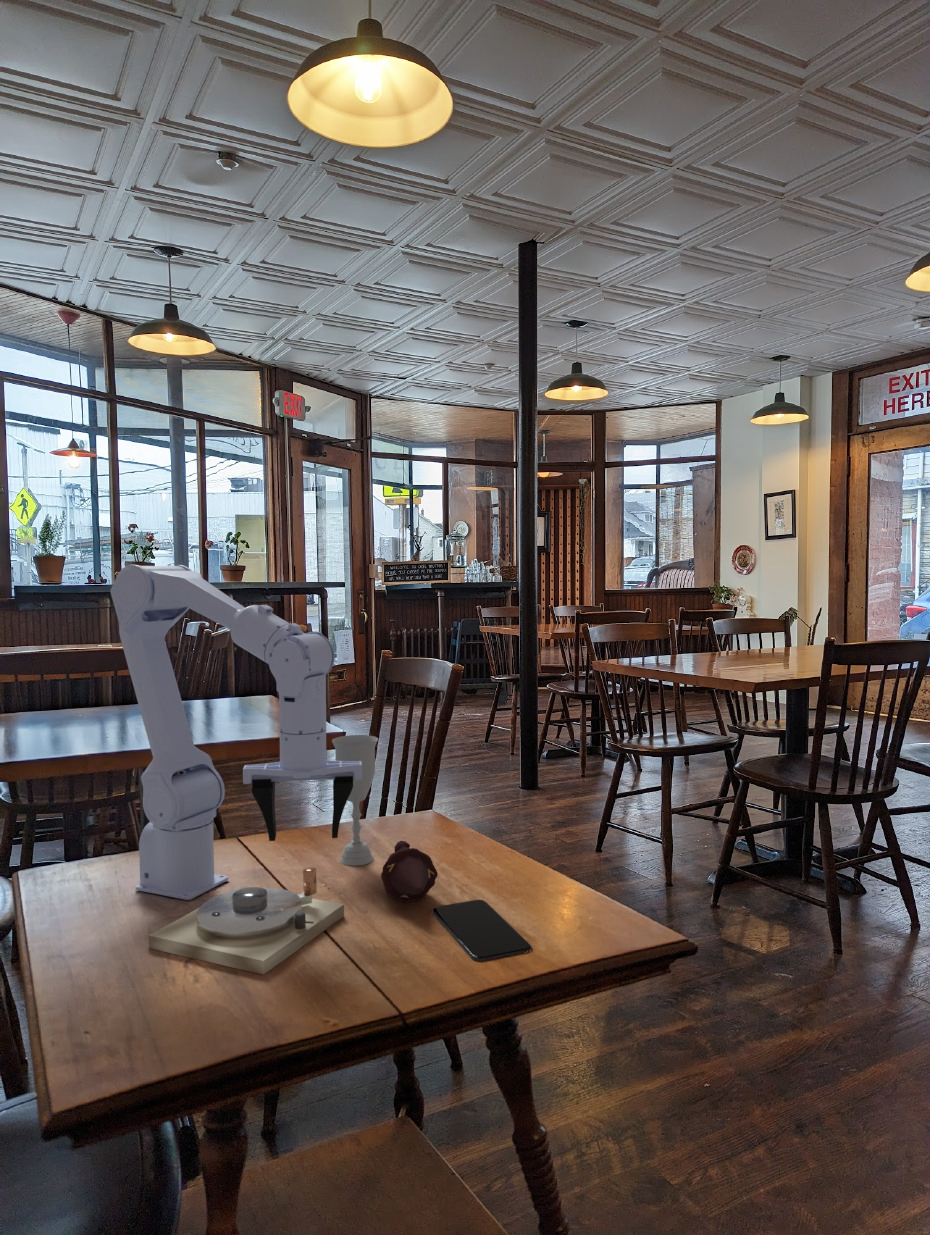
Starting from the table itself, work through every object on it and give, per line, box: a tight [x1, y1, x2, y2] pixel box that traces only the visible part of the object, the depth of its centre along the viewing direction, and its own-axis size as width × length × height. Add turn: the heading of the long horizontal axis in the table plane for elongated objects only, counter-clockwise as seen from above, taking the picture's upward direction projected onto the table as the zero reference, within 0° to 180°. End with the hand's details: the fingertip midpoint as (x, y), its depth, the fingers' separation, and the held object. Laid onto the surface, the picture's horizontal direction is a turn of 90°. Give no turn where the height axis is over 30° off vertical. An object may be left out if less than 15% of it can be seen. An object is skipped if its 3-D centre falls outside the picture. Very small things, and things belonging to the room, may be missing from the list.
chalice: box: [331, 734, 379, 867], centre depth 121 cm, size 7×7×18 cm
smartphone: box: [431, 899, 533, 963], centre depth 97 cm, size 7×1×15 cm
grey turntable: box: [197, 866, 318, 938], centre depth 97 cm, size 14×12×4 cm
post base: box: [148, 885, 345, 976], centre depth 97 cm, size 16×16×3 cm
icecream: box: [380, 840, 438, 903], centre depth 106 cm, size 7×7×15 cm
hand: (303, 837), depth 102 cm, fingers open, 7 cm apart
